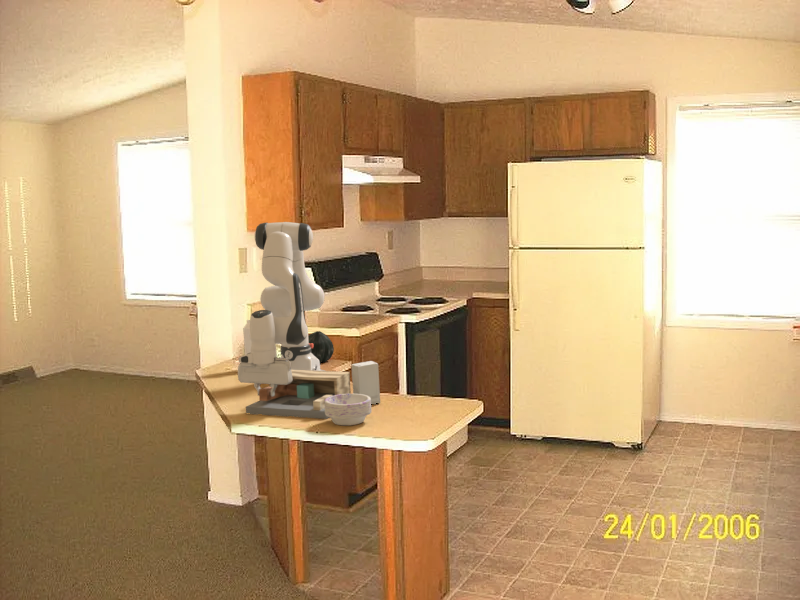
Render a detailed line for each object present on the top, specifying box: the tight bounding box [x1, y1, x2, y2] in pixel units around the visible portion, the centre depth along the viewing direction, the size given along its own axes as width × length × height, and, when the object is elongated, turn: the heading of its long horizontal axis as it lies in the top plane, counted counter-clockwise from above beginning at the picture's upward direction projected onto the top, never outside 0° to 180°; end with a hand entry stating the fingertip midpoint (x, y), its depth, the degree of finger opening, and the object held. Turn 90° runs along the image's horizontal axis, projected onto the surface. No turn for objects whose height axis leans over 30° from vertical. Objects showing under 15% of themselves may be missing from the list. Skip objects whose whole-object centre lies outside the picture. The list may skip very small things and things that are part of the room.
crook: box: [258, 383, 299, 401], centre depth 306 cm, size 16×8×4 cm, turn 158°
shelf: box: [268, 370, 352, 395], centre depth 311 cm, size 11×27×8 cm, turn 69°
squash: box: [308, 330, 335, 363], centre depth 389 cm, size 14×15×15 cm
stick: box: [313, 395, 333, 410], centre depth 293 cm, size 10×2×3 cm, turn 159°
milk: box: [242, 319, 252, 355], centre depth 375 cm, size 6×6×22 cm
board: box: [245, 393, 335, 420], centre depth 304 cm, size 26×31×2 cm
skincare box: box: [351, 360, 381, 405], centre depth 304 cm, size 8×6×15 cm
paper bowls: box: [324, 393, 372, 426], centre depth 281 cm, size 15×15×8 cm
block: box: [297, 383, 314, 399], centre depth 309 cm, size 4×4×4 cm
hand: (266, 395), depth 302 cm, fingers closed on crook, 3 cm apart
